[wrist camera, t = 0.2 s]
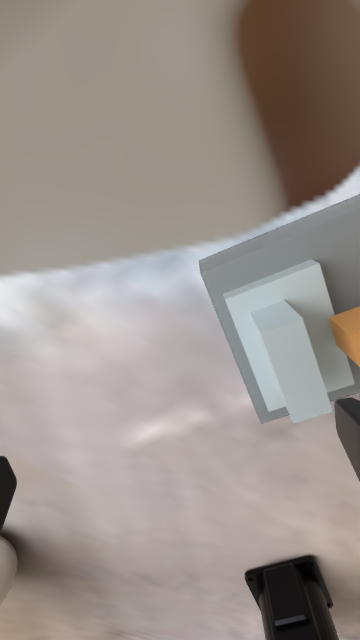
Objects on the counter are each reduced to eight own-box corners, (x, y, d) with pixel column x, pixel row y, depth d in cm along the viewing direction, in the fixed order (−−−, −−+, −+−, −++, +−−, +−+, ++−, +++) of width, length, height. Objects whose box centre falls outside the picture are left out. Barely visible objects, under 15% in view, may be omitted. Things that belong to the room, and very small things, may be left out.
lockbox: (464, 312, 22) (531, 338, 18) (249, 386, 25) (261, 425, 20) (439, 161, 19) (510, 147, 15) (198, 260, 22) (200, 273, 17)
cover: (344, 373, 19) (385, 416, 15) (264, 400, 20) (282, 448, 16) (311, 259, 17) (346, 274, 13) (222, 294, 18) (231, 318, 14)
